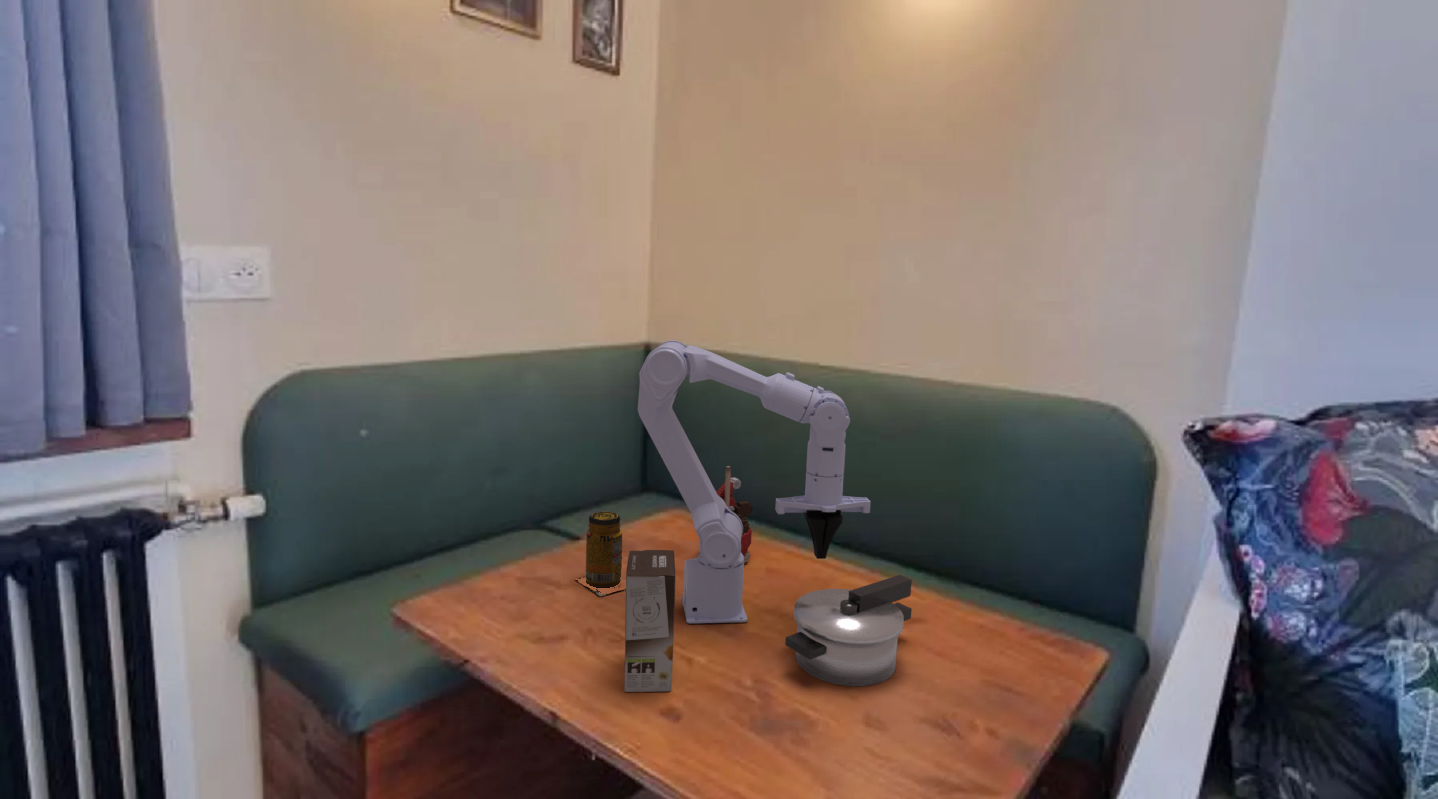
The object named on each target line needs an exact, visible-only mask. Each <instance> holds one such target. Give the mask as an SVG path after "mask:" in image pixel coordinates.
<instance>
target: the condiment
mask: <svg viewBox="0 0 1438 799" xmlns="http://www.w3.org/2000/svg"><path fill="white" fill-rule="evenodd" d="M585 536H586V538H585V539H586V542H585V547H586V548H585V550H586V551H585V577H586V583H587V584H589V585H590V586H593V587H596V588H610V587H614V586H616V585H618V584H619V583H620V581H621V578H622V566H623V565H622V560H623V531H622V529H621V517H620V515H619V514H618V513H616V512H613V511H604V510H603V511H596V512H593V513H592V514H590V516H588V529H587V531H586V535H585ZM614 588H615V587H614ZM596 590H597V589H596ZM589 591H591V589H589ZM591 592H593V593H594V592H596V593H595V594H596V595H598V596H599V597H602V596H605V595H604V594H599V592H600V591H598V590H597V591H591ZM600 593H601V592H600ZM606 594H607V593H606Z"/></svg>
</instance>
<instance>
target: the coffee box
mask: <svg viewBox="0 0 1438 799" xmlns="http://www.w3.org/2000/svg"><path fill="white" fill-rule="evenodd" d="M675 560H676V559H675V550H668V549H645V550H629V552H628V555H627V565H626V573H625V579H626V590H625V624H624V625H625V626H624V627H625V628H624V629H625V631H624V632H625V633H624V639H625V640H624V641H625V642H624V688H623V690H624V692H625V693H635V692H636V693H637V692H639V693H642V692H643V693H645V692H647V693H648V692H649V693H651V692H653V693H654V692H656V693H657V692H671V691H672V684H673V662H674V639H675V638H674V636H675V611H676V610H675V608H676V607H675V606H676V605H675V604H676V602H675V600H676V565H675V564H676V563H675V562H676V561H675Z"/></svg>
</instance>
